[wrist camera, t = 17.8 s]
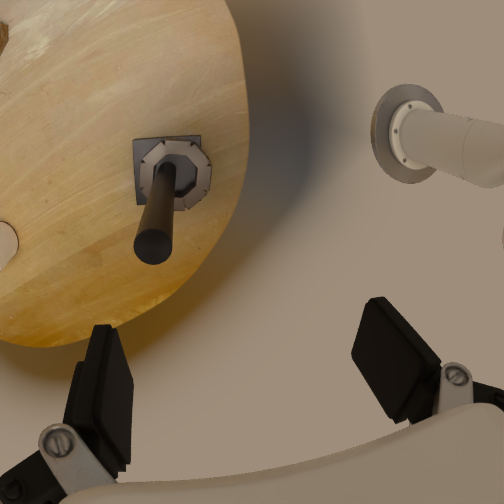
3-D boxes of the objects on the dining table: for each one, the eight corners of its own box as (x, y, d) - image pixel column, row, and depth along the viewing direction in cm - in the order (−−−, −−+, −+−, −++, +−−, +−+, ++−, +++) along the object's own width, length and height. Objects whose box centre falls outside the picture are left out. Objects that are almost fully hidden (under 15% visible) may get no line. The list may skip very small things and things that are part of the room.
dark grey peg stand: (200, 135, 39) (226, 169, 17) (200, 198, 43) (227, 303, 21) (133, 139, 37) (72, 181, 15) (138, 202, 41) (98, 311, 19)
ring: (212, 141, 39) (214, 143, 36) (205, 205, 42) (207, 212, 40) (144, 137, 36) (141, 139, 34) (140, 202, 40) (138, 209, 37)
